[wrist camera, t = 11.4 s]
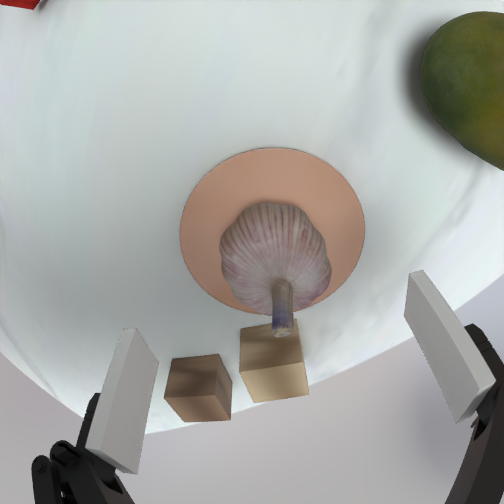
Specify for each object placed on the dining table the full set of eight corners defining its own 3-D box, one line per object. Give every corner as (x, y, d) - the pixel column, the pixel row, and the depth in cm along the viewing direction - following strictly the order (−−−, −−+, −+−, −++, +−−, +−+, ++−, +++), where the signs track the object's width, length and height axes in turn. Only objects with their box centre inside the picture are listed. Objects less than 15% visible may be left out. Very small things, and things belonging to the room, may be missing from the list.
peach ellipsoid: (212, 316, 26) (211, 325, 25) (158, 172, 19) (153, 177, 18) (362, 287, 24) (366, 296, 23) (350, 130, 18) (356, 133, 17)
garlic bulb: (295, 301, 23) (309, 385, 17) (204, 272, 22) (187, 357, 15) (343, 218, 20) (387, 291, 13) (242, 177, 18) (236, 238, 12)
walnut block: (189, 385, 32) (184, 422, 27) (172, 358, 29) (163, 397, 25) (232, 381, 31) (230, 420, 27) (218, 353, 28) (214, 395, 24)
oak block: (253, 361, 29) (253, 402, 25) (240, 328, 27) (239, 372, 22) (302, 353, 29) (309, 394, 24) (295, 318, 26) (303, 361, 22)
